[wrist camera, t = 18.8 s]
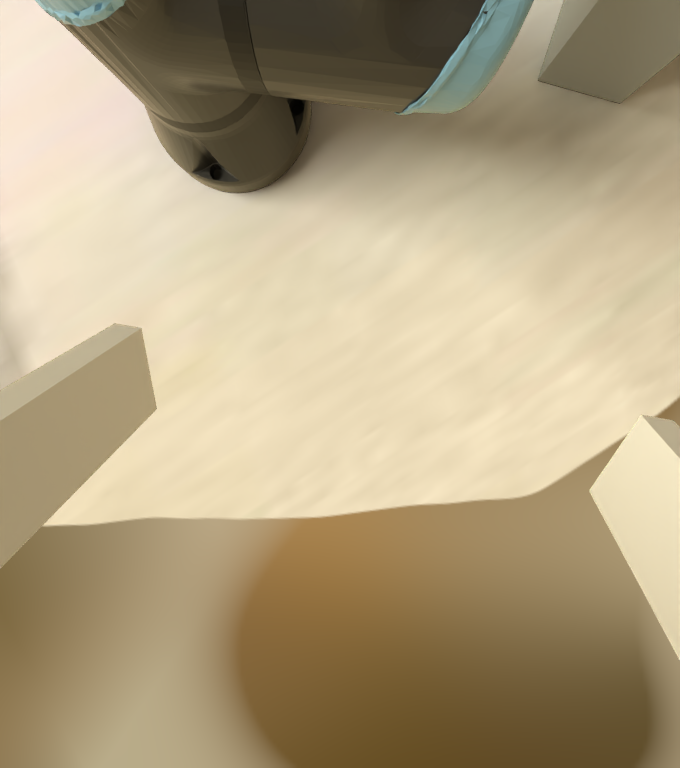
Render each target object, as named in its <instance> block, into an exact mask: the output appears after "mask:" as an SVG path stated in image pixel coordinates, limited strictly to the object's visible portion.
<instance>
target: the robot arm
mask: <svg viewBox="0 0 680 768" xmlns="http://www.w3.org/2000/svg"><path fill="white" fill-rule="evenodd" d="M35 1H36V2H37V3H38V4H39V6H40V7H41V8H42V9H44V10H45V11H46V12H47V13H48V14H49V15H50V16H52V17H55V18H56V20H57V21H59V22H60V23H61V24H62V25H63V26H65V27H66V28H67V29H68V30H69V31H70V32H71V33H72V34H73V35H74V36H75V37H76V38H77V39H78V40H79V41H80V42H81V43H82V44H83V45H84V46H85V47H86V48H87V49H88V50H89V51H90V52H91V53H92V54H93V55H94V56H95V57H96V58H97V59H98V60H99V61H100V62H102V63H103V64H104V65H105V66H106V67H107V68H108V69H109V70H110V71H111V72H112V73H113V74H114V75H115V76H116V77H117V78H118V79H119V80H120V81H121V82H122V83H123V84H124V85H125V86H126V87H127V88H128V89H129V90H130V91H131V92H132V93H133V94H134V95H135V96H136V97H137V98H138V99H139V100H140V101H141V102H142V103H143V104H144V105H145V108H146V110H147V113H148V115H149V118H150V120H151V123H152V125H153V128H154V130H155V132H156V134H157V137H158V138H159V140H160V142H161V144H162V145H163V147H164V148H165V150H166V151H167V152H168V154H169V155H170V156H171V158H172V159H173V160H174V161H175V162H176V163H177V164H178V165H179V166H180V167H181V168H183V169H184V170H185V171H186V172H187V173H188V174H190V175H191V176H192V177H193V178H195V179H196V180H197V181H199V182H201V183H202V184H204V185H206V186H208V187H211V188H213V189H216V190H220V191H224V192H232V193H242V192H250V191H254V190H257V189H260V188H263V187H265V186H267V185H269V184H271V183H273V182H274V181H276V180H277V179H279V178H280V177H281V176H282V175H283V174H285V173H286V172H287V171H288V170H289V168H290V167H291V166H292V165H293V164H294V162H295V161H296V159H297V158H298V156H299V155H300V153H301V151H302V149H303V147H304V144H305V142H306V139H307V136H308V132H309V128H310V122H311V101H314V102H322V103H330V104H338V105H345V106H353V107H361V108H368V109H376V110H384V111H392V112H394V113H395V114H397V115H402V114H404V115H408V114H411V113H413V112H422V113H438V114H448V113H452V112H456V111H458V110H460V109H463V108H465V107H466V106H468V105H469V104H470V103H471V102H472V101H474V100H475V99H476V98H477V97H478V96H479V95H480V94H481V92H482V91H483V90H484V89H485V88H486V86H487V85H488V84H489V82H490V81H491V80H492V78H493V77H494V75H495V74H496V72H497V71H498V69H499V67H500V66H501V64H502V62H503V61H504V59H505V57H506V55H507V54H508V52H509V50H510V48H511V46H512V44H513V42H514V40H515V39H516V37H517V35H518V33H519V31H520V29H521V27H522V24H523V22H524V20H525V18H526V16H527V14H528V12H529V10H530V7H531V5H532V3H533V1H534V0H35ZM156 409H157V408H156V402H155V397H154V392H153V387H152V381H151V376H150V371H149V366H148V361H147V355H146V350H145V345H144V340H143V335H142V329H141V328H138V327H132V326H127V325H121V324H113V325H111V326H110V327H108V328H106V329H105V330H103V331H101V332H99V333H98V334H96V335H94V336H93V337H91V338H89V339H87V340H86V341H84V342H82V343H81V344H79V345H77V346H75V347H74V348H72V349H70V350H69V351H67V352H65V353H63V354H62V355H60V356H58V357H57V358H55V359H53V360H51V361H50V362H48V363H46V364H45V365H43V366H41V367H39V368H38V369H36V370H34V371H33V372H31V373H29V374H27V375H26V376H24V377H22V378H21V379H19V380H17V381H15V382H14V383H12V384H10V385H9V386H7V387H5V388H3V389H2V390H0V568H1V567H2V566H3V565H4V564H5V563H6V562H7V561H8V560H9V559H10V558H11V557H12V556H13V555H14V554H15V553H16V552H17V551H18V550H19V549H20V548H21V547H22V546H23V544H25V542H27V541H28V539H30V538H31V537H32V536H33V535H34V534H35V533H36V531H38V530H39V528H40V527H41V526H42V525H43V524H44V523H45V522H46V521H47V520H48V519H49V518H50V517H51V516H52V515H53V514H54V513H55V512H56V511H57V510H58V509H59V508H60V507H61V506H62V505H63V504H64V503H65V502H66V501H67V500H68V499H69V498H70V497H71V496H72V495H73V494H74V493H75V492H76V491H77V490H78V489H79V488H80V487H81V486H82V485H83V484H84V483H85V482H86V481H87V480H88V479H89V477H90V476H91V475H92V474H93V473H94V472H95V471H96V470H97V469H98V468H99V467H100V466H101V465H102V464H103V463H104V462H105V461H106V460H107V459H108V458H109V457H110V456H111V455H112V454H113V453H114V452H115V451H116V450H117V449H118V448H119V447H120V446H121V445H122V444H123V443H124V442H125V441H126V440H127V439H128V438H129V437H130V436H131V435H132V434H133V433H134V432H135V431H136V430H137V429H138V427H139V426H140V425H141V424H142V423H143V422H144V421H145V420H146V419H147V418H148V417H149V416H150V415H151V414H152V413H153V412H154V411H155V410H156ZM589 491H590V493H591V495H592V497H593V499H594V501H595V503H596V505H597V507H598V508H599V510H600V512H601V514H602V516H603V518H604V519H605V522H606V523H607V525H608V527H609V529H610V531H611V533H612V535H613V536H614V538H615V540H616V542H617V544H618V546H619V548H620V550H621V551H622V553H623V555H624V557H625V559H626V561H627V562H628V565H629V566H630V568H631V570H632V572H633V574H634V576H635V578H636V579H637V581H638V583H639V585H640V587H641V589H642V590H643V592H644V595H645V596H646V598H647V600H648V602H649V604H650V606H651V607H652V610H653V611H654V613H655V615H656V617H657V619H658V620H659V622H660V624H661V626H662V628H663V630H664V632H665V634H666V636H667V638H668V639H669V641H670V643H671V645H672V647H673V649H674V651H675V653H676V654H677V656H678V658H679V660H680V427H679V426H678V425H677V424H676V423H675V422H674V421H673V420H668V419H662V418H656V417H650V416H645V415H641V416H640V417H639V419H638V420H637V422H636V423H635V425H634V426H633V427H632V429H631V430H630V432H629V433H628V435H627V436H626V438H625V439H624V441H623V442H622V443H621V445H620V447H619V448H618V450H617V451H616V452H615V454H614V455H613V457H612V458H611V460H610V461H609V463H608V464H607V465H606V467H605V468H604V470H603V471H602V473H601V474H600V476H599V477H598V479H597V480H596V481H595V483H594V484H593V486H592V487H591V489H590V490H589Z"/></svg>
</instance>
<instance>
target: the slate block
mask: <svg viewBox="0 0 680 768" xmlns="http://www.w3.org/2000/svg"><path fill="white" fill-rule="evenodd" d="M679 55H680V0H564V2H563V5H562V8H561V11H560V14H559V17H558V20H557V23H556V26H555V29H554V32H553V35H552V38H551V41H550V44H549V47H548V51H547V54H546V57H545V60H544V63H543V66H542V69H541V72H540V75H539V78H538V81H542V82H545V83H549V84H552V85H556V86H559V87H563V88H566V89H570V90H574V91H577V92H581V93H584V94H588V95H591V96H595V97H598V98H602V99H606V100H609V101H613V102H616V103H621V102H622V101H624V100H625V99H626V98H627V97H628V96H630V95H631V94H632V93H633V92H635V91H636V90H637V89H638V88H639V87H641V86H642V85H643V84H644V83H646V82H647V81H648V80H649V79H650V78H652V77H653V76H654V75H655V74H657V73H658V72H659V71H660V70H661V69H663V68H664V67H665V66H666V65H668V64H669V63H670V62H671V61H672V60H674V59H675V58H676V57H677V56H679Z"/></svg>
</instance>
